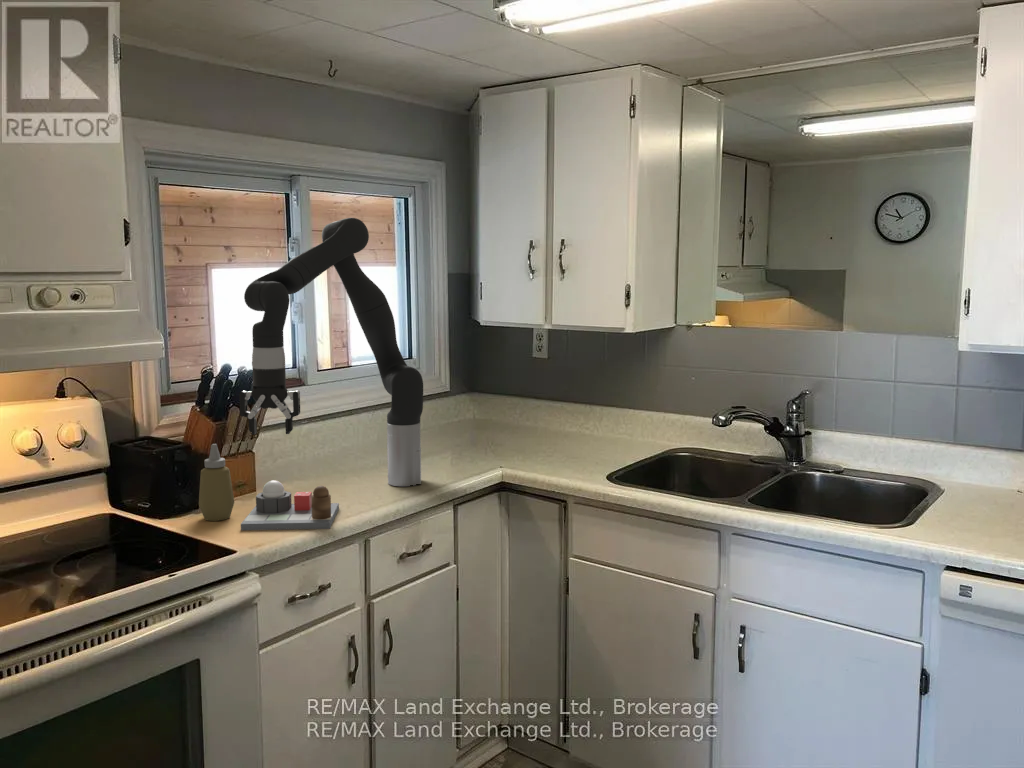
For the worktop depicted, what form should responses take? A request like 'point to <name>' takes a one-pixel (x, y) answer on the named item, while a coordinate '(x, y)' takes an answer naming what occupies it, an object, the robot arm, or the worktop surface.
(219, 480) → the squeeze bottle
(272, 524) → the board
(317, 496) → the cylinder
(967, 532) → the worktop surface
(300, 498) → the red die
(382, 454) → the worktop surface
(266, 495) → the dome
